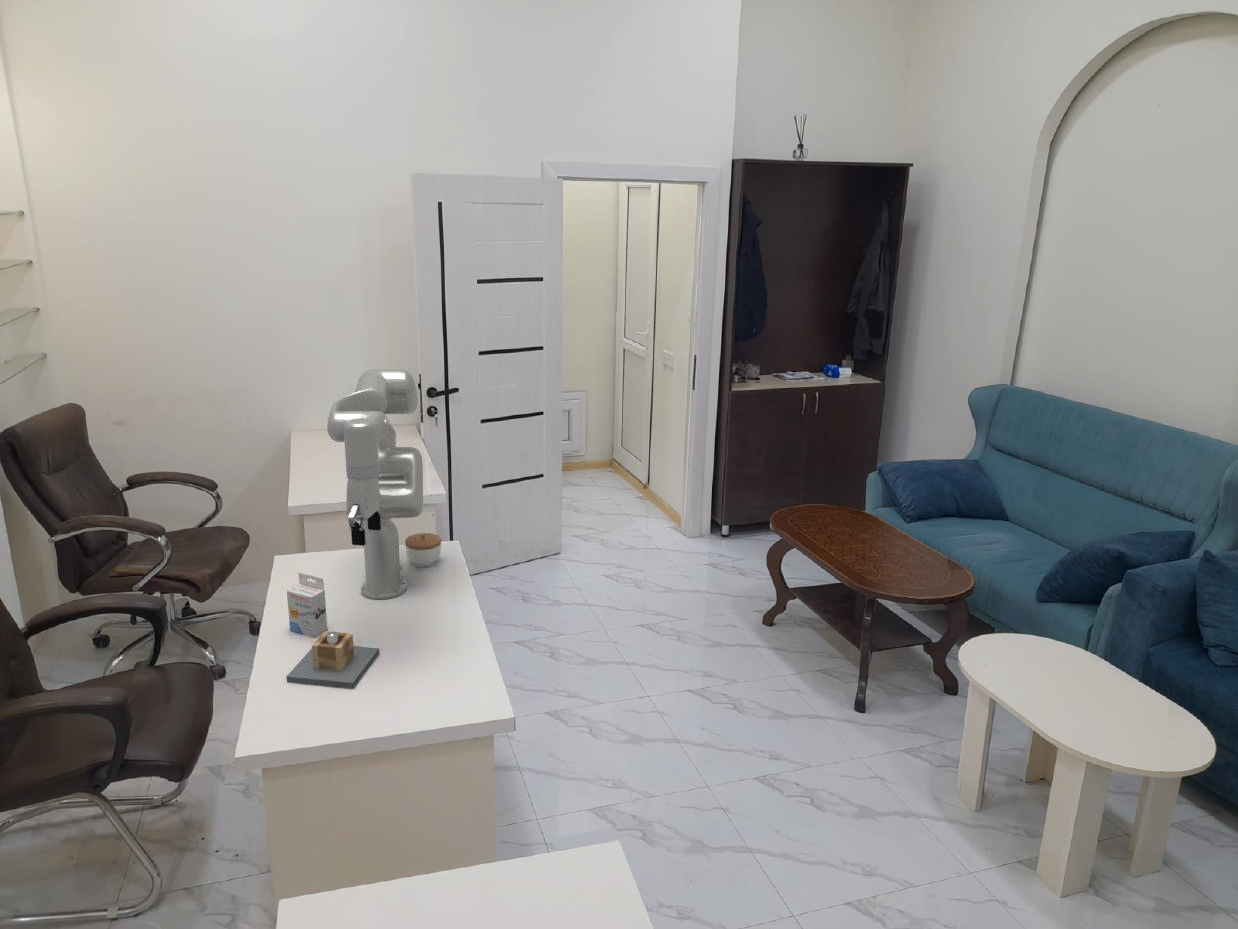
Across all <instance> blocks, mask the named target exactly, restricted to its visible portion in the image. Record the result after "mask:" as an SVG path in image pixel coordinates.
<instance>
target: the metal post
mask: <svg viewBox="0 0 1238 929" xmlns="http://www.w3.org/2000/svg"><path fill="white" fill-rule="evenodd" d="M328 632H329V633H327V644H333V645H338V635H337V632H338V631H328Z"/></svg>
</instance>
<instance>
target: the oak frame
mask: <svg viewBox="0 0 1238 929" xmlns="http://www.w3.org/2000/svg"><path fill="white" fill-rule="evenodd" d="M329 632H330V631H328V630H327V631H325V632H324V633H322V634H321V635H319V636H318V638H317V639H316V640H315V641H314V643H313V644H311V649H312V653H313V665H314V668H317V669H328V670H338V671H343V669H344V668H345V667H346V666H347V664H348V663H349V662H350V661H351V659H352V658H353V657H354V646H355V645H354V634H353V633H349V632H338V631H336V632H337V635H338V645H333V644H327V633H329Z"/></svg>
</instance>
